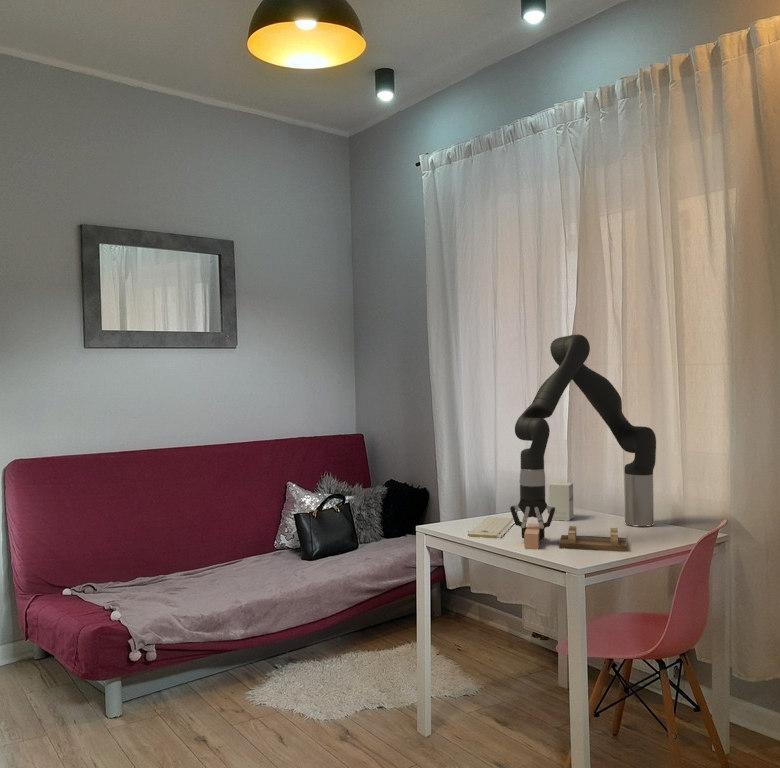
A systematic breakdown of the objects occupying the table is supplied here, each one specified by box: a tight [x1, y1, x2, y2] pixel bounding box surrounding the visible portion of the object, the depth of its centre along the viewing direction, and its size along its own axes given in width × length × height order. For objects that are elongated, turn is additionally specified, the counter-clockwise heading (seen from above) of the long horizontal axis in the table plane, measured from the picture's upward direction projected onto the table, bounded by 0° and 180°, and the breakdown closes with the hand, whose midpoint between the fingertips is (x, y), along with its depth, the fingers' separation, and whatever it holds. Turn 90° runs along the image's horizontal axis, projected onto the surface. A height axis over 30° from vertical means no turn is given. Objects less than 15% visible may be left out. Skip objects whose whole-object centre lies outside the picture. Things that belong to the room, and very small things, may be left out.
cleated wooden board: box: [558, 525, 628, 552], centre depth 223 cm, size 12×19×4 cm, turn 74°
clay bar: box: [523, 522, 541, 550], centre depth 227 cm, size 16×4×4 cm, turn 165°
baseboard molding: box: [467, 516, 514, 539], centre depth 250 cm, size 31×3×12 cm
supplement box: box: [548, 481, 574, 521], centre depth 265 cm, size 7×7×13 cm
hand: (533, 539), depth 227 cm, fingers closed on clay bar, 4 cm apart
